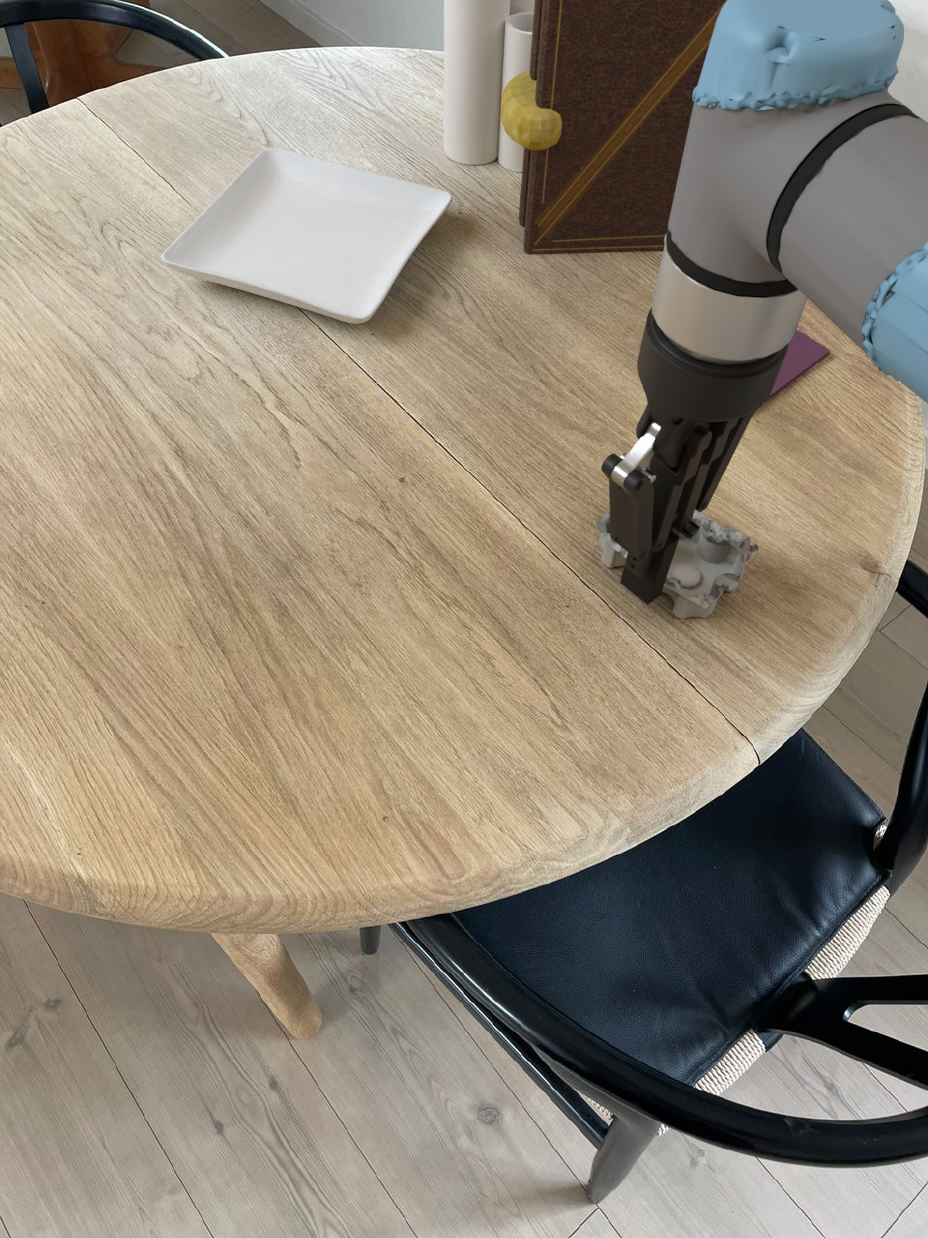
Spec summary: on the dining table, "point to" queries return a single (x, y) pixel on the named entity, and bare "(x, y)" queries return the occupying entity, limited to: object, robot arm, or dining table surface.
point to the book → (605, 119)
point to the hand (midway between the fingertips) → (640, 588)
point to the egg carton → (694, 564)
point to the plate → (309, 233)
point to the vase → (483, 76)
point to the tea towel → (798, 360)
